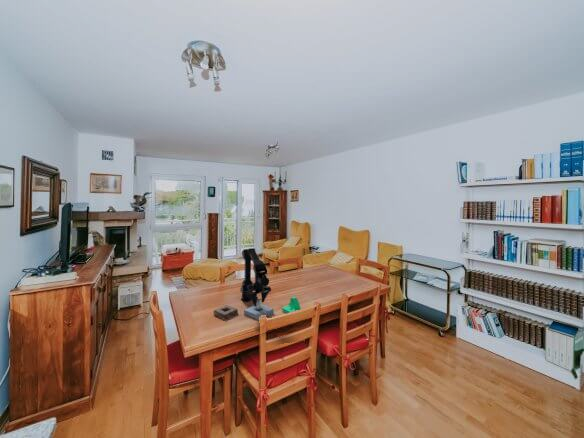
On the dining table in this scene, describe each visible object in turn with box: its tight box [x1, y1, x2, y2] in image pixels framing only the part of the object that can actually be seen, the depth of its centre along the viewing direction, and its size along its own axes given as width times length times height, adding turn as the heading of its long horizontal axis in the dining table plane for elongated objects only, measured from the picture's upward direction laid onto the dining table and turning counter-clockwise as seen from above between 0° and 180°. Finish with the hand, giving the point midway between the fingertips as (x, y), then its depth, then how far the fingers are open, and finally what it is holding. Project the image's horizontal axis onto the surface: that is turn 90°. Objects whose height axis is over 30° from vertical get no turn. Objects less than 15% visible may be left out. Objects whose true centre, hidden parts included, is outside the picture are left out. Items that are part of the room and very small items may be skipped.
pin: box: [257, 297, 262, 311], centre depth 169 cm, size 3×3×10 cm
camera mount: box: [281, 296, 302, 314], centre depth 172 cm, size 12×8×10 cm, turn 43°
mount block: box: [213, 304, 239, 320], centre depth 167 cm, size 11×11×3 cm
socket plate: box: [243, 303, 274, 321], centre depth 169 cm, size 14×14×3 cm
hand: (258, 304), depth 169 cm, fingers open, 7 cm apart
